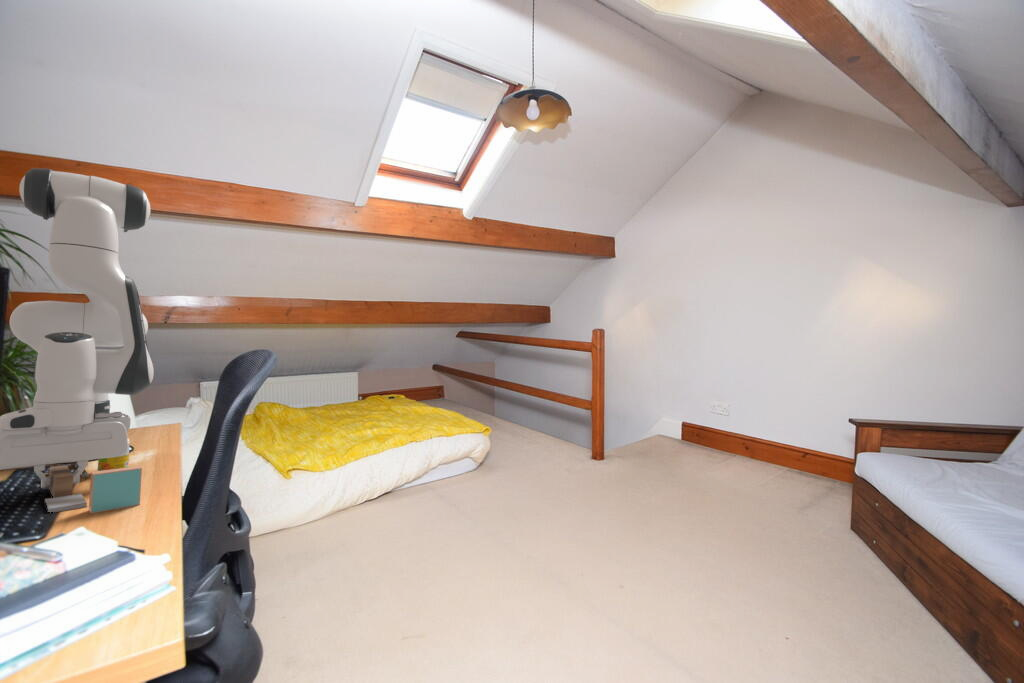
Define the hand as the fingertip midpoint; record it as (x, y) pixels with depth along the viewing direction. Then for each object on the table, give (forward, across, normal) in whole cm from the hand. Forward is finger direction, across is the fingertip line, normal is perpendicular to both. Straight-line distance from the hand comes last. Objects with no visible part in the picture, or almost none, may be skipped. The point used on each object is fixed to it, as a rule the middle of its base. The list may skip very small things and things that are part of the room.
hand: (60, 485), depth 93 cm
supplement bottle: (+2, -10, -12) cm, 16 cm away
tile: (+2, -6, +16) cm, 17 cm away
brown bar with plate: (+2, 0, +4) cm, 4 cm away
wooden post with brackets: (+2, -2, -11) cm, 11 cm away
